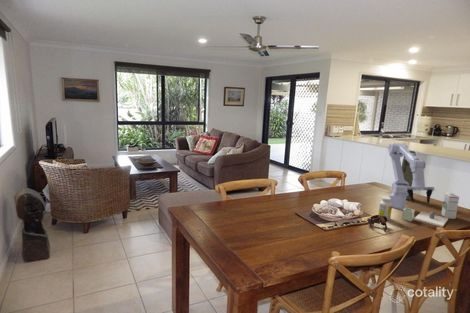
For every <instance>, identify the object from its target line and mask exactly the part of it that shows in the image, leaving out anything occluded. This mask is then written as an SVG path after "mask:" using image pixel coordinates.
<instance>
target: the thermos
mask: <svg viewBox="0 0 470 313" xmlns="http://www.w3.org/2000/svg"><path fill="white" fill-rule="evenodd" d="M409 152H410V153H414V154H415V155H416V156H417V154H416V151H414V150H409ZM401 166H402V171H403V176H404V180H405V181H407V182H408V183H409V186H410V187H413V172H412V171H411V168H410V164H409V162H408V161H407V160H406V159H405V156H404V155H403V159H402V162H401ZM406 199H407V200H408V199H409V200H411V198H410V196H409V195H408V196H407V197H406ZM407 200H406V201H407Z"/></svg>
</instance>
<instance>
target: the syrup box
mask: <svg viewBox="0 0 470 313" xmlns="http://www.w3.org/2000/svg"><path fill="white" fill-rule="evenodd" d="M459 200H460V195H457V194H455V193H452V192H445V193H444V195H443V202H442V207H441V213H440V214H441V215H440V216H442V217H446V218H448V219H452V220H453V219H455V220H456V218H457V217H456V216H457V213H458V206H459Z"/></svg>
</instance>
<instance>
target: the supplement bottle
mask: <svg viewBox="0 0 470 313" xmlns="http://www.w3.org/2000/svg"><path fill="white" fill-rule="evenodd" d="M389 197H390V196H382V198H381V200H380V202H379V205H378V213H377V215H380V216H386V217H387V221H390V220H391V217H392V209H393V207H392V203H391V202H390V201H391V198H389Z"/></svg>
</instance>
